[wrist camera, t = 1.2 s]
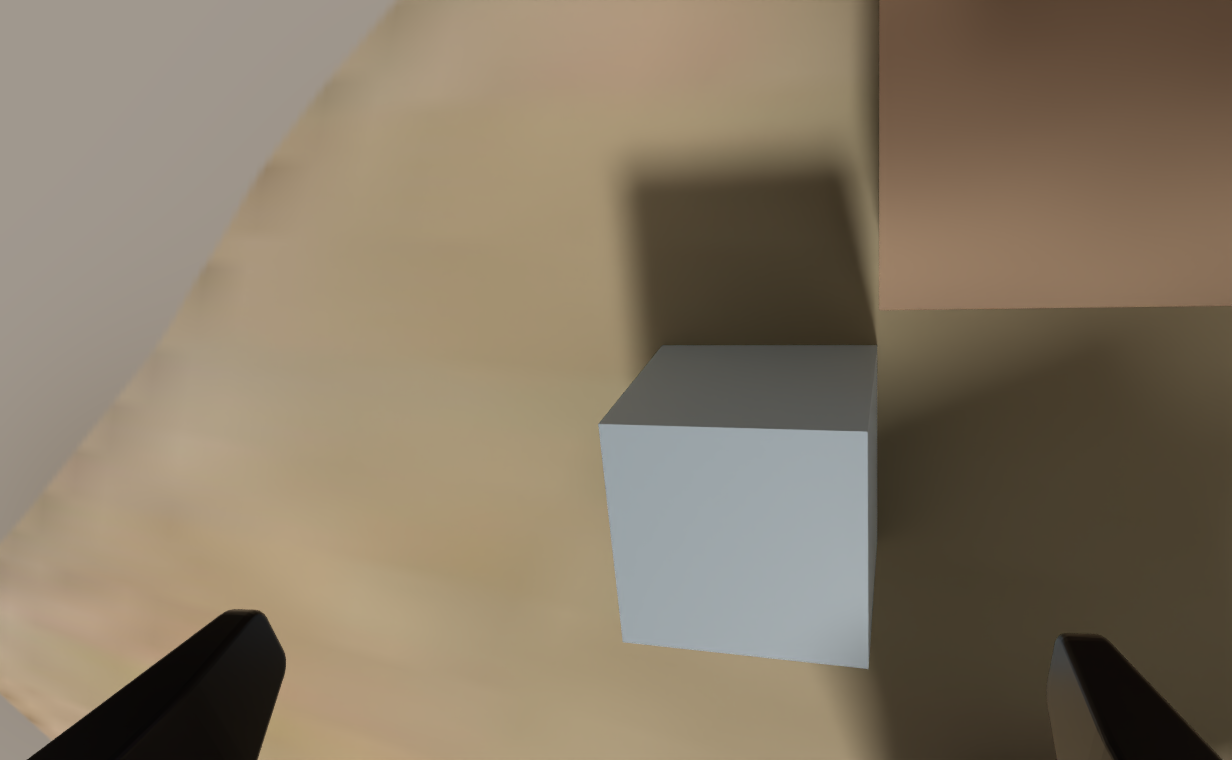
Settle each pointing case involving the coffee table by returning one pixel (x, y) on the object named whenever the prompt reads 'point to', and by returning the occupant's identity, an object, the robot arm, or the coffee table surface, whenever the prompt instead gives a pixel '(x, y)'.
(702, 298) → the coffee table surface
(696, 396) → the slate cube
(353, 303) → the coffee table surface
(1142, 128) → the walnut block
